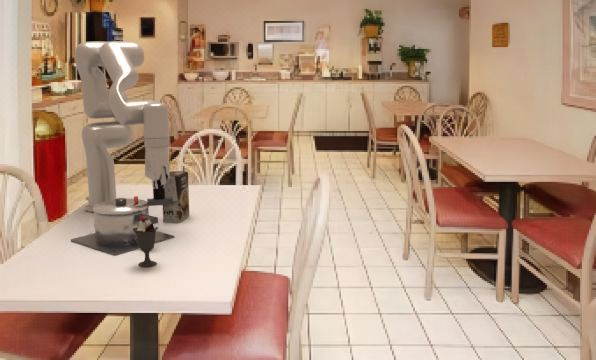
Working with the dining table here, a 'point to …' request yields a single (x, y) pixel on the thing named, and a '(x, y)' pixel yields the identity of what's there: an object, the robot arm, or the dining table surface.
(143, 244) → the sundae
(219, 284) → the dining table surface
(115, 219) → the cooker
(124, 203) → the lid
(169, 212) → the coffee box
